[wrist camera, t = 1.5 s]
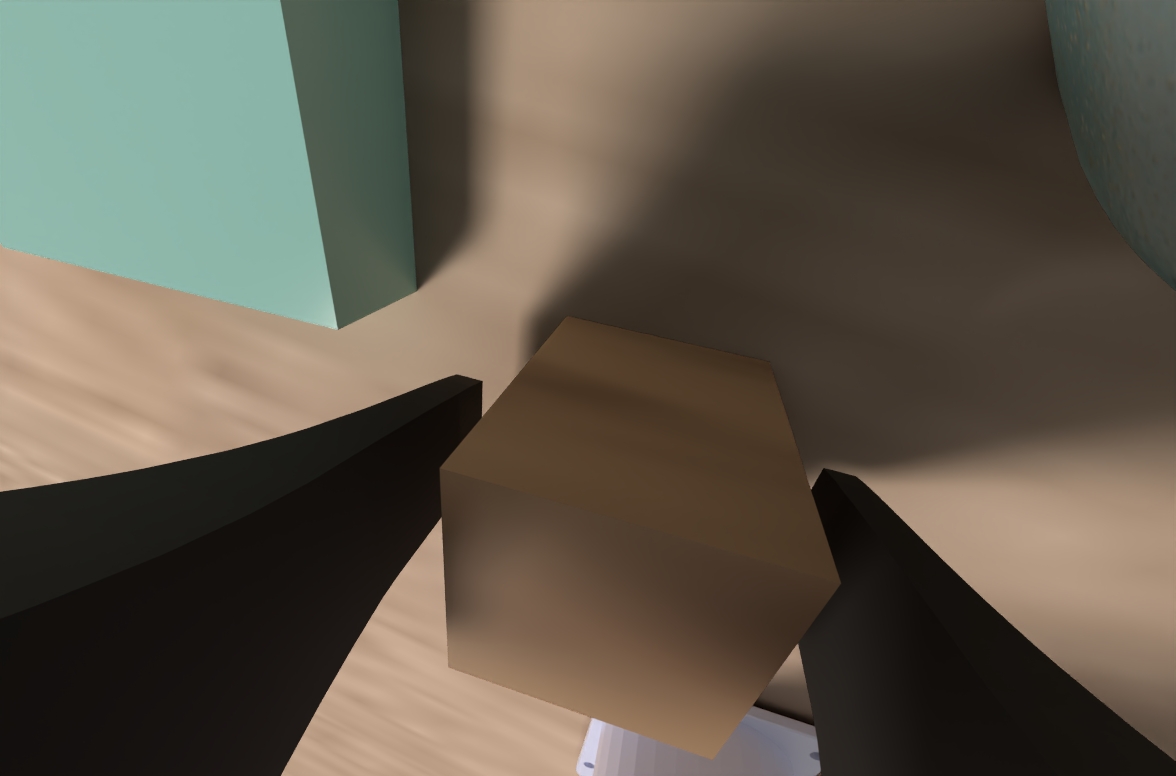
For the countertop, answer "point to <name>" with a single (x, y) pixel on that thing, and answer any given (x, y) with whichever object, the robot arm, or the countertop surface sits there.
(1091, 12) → the flower pot
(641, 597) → the walnut block
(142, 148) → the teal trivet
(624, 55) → the countertop surface
